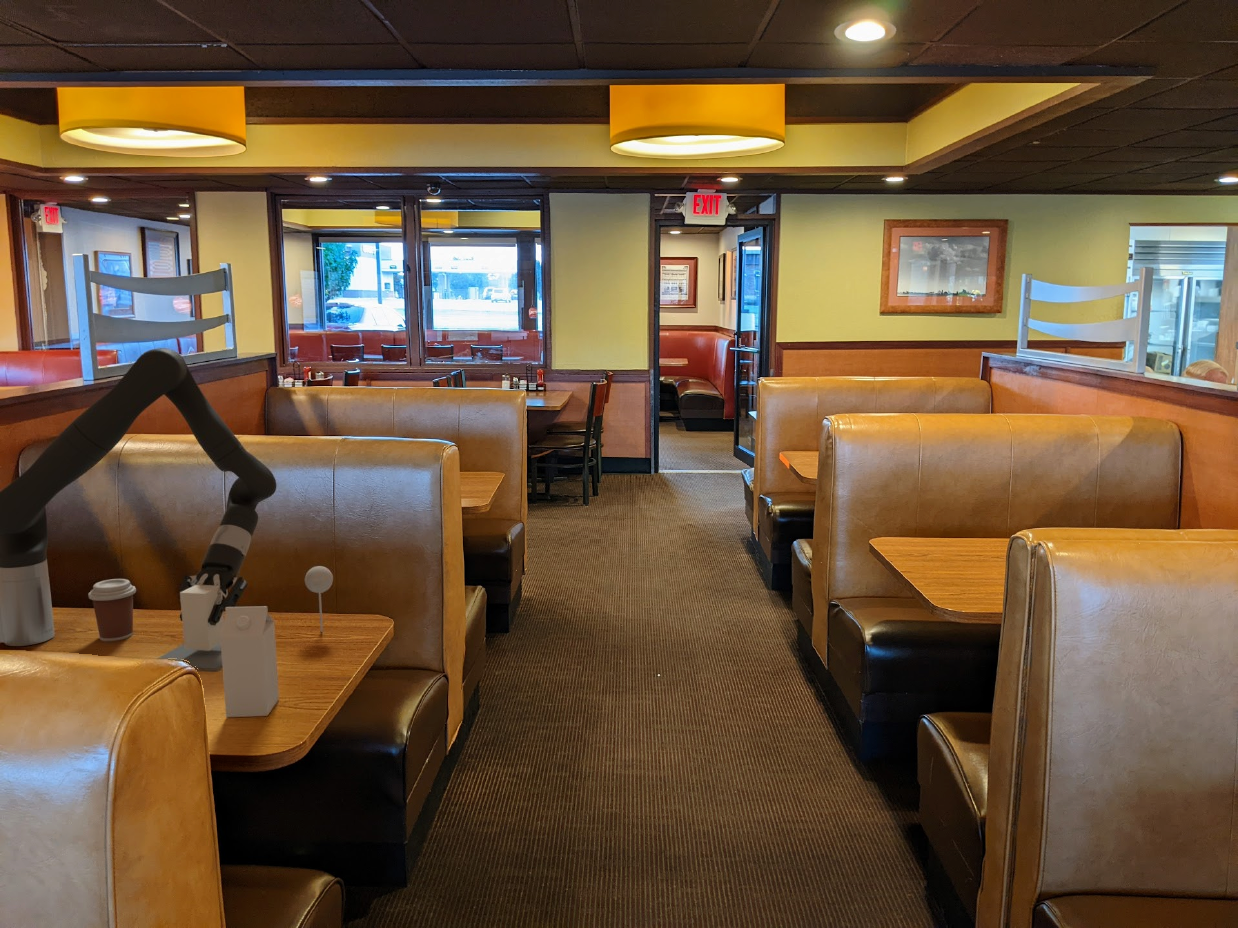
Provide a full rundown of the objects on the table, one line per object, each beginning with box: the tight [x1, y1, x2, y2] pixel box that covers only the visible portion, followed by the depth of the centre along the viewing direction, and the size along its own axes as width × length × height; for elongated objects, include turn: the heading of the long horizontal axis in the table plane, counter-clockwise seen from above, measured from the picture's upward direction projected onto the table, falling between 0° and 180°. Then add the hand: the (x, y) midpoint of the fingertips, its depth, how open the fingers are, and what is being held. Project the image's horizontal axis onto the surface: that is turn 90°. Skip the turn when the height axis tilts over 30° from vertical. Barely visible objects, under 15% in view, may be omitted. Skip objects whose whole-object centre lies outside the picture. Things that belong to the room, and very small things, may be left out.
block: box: [179, 584, 224, 651], centre depth 186 cm, size 6×6×12 cm
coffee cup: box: [87, 578, 137, 642], centre depth 198 cm, size 9×9×12 cm
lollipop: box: [304, 565, 334, 633], centre depth 200 cm, size 6×6×15 cm
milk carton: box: [220, 605, 280, 718], centre depth 161 cm, size 7×7×19 cm
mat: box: [157, 643, 223, 672], centre depth 188 cm, size 15×15×1 cm
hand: (197, 622), depth 185 cm, fingers closed on block, 5 cm apart
